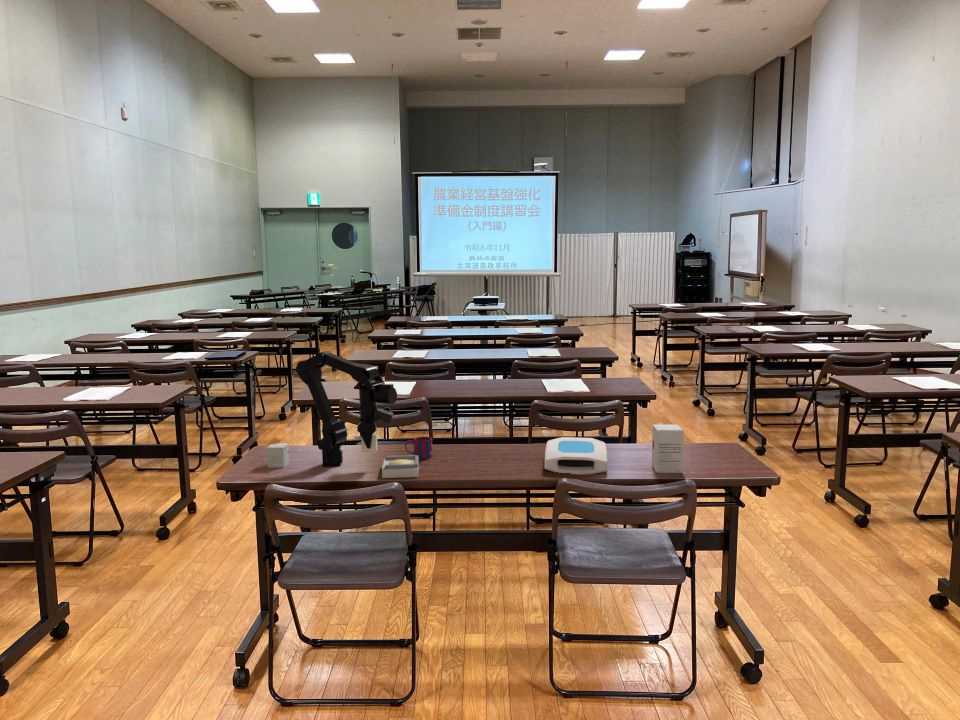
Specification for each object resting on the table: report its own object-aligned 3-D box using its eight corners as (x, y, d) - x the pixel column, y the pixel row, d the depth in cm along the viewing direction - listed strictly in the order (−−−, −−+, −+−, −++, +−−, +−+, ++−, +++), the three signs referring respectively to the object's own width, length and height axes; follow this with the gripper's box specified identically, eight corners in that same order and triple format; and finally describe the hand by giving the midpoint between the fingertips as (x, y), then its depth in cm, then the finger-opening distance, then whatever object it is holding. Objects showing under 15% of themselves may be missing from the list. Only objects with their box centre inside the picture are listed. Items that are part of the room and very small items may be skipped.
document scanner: (544, 473, 238) (544, 455, 238) (547, 452, 266) (547, 436, 265) (607, 475, 235) (607, 457, 235) (604, 454, 263) (604, 437, 262)
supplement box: (651, 465, 246) (652, 423, 244) (677, 466, 245) (678, 424, 243) (656, 473, 237) (657, 429, 235) (683, 473, 236) (684, 429, 234)
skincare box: (284, 467, 248) (283, 447, 247) (267, 467, 249) (266, 447, 248) (289, 463, 254) (288, 443, 253) (273, 463, 255) (272, 443, 254)
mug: (431, 458, 258) (431, 440, 257) (404, 459, 258) (403, 440, 257) (433, 454, 264) (432, 436, 263) (406, 454, 265) (406, 436, 264)
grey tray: (382, 478, 235) (381, 466, 234) (384, 466, 248) (384, 455, 248) (418, 476, 235) (418, 465, 235) (418, 465, 249) (418, 454, 249)
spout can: (354, 452, 241) (353, 433, 240) (355, 448, 246) (355, 430, 245) (376, 451, 242) (375, 433, 241) (377, 448, 247) (376, 429, 246)
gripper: (390, 406, 233) (391, 452, 235) (392, 396, 252) (394, 439, 254) (356, 407, 232) (357, 453, 234) (361, 397, 251) (362, 440, 253)
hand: (369, 446), depth 244 cm, fingers closed on spout can, 5 cm apart
